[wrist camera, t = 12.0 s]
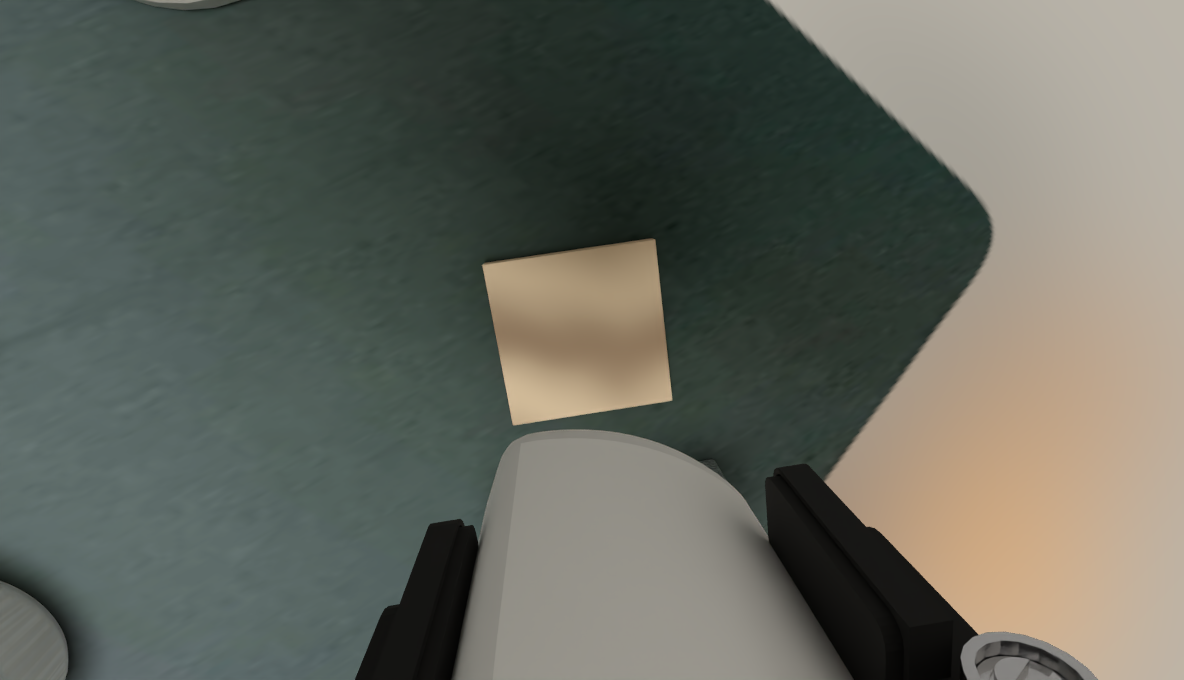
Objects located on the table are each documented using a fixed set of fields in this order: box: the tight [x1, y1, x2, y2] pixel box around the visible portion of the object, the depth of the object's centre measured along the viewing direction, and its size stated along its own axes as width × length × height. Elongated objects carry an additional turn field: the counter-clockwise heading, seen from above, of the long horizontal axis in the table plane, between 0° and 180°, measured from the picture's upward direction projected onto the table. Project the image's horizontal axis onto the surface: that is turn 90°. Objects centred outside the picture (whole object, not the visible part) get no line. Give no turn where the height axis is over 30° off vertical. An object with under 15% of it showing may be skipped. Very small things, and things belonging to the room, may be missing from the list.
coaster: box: [482, 238, 672, 425], centre depth 27 cm, size 8×8×1 cm
